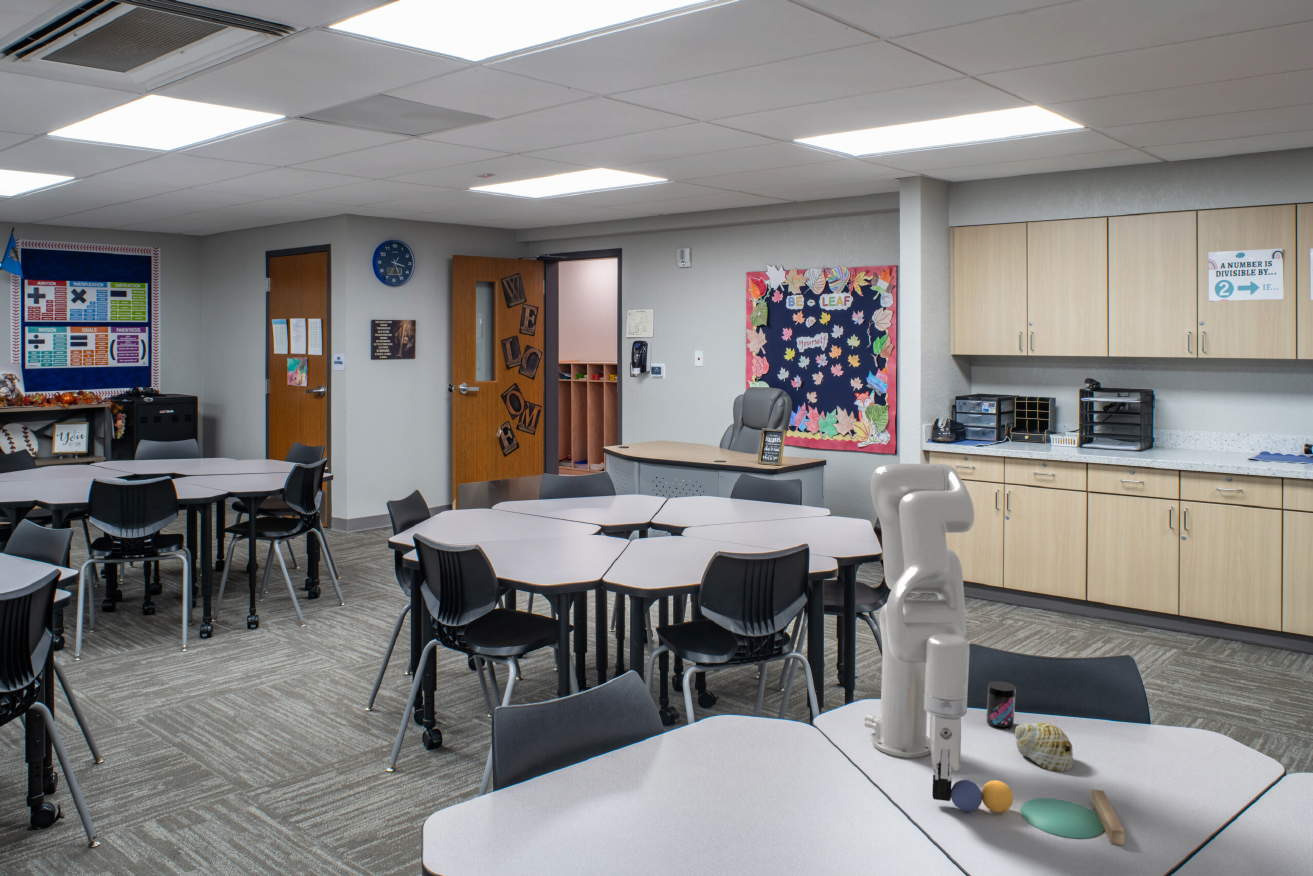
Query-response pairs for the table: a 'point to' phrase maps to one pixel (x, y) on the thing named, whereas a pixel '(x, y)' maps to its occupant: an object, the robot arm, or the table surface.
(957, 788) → the slate blue ball
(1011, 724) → the supplement container
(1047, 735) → the seashell
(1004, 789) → the orange ball
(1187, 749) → the table surface
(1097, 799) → the wall
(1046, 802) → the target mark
